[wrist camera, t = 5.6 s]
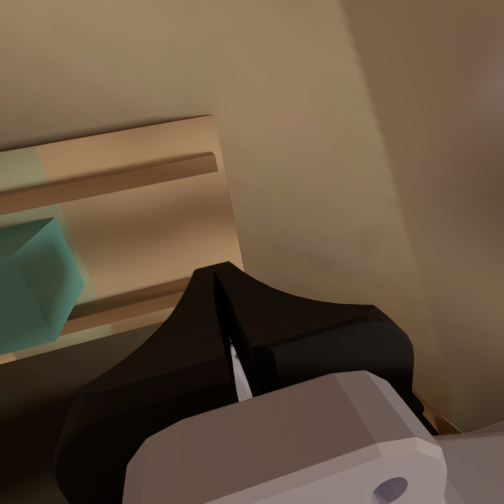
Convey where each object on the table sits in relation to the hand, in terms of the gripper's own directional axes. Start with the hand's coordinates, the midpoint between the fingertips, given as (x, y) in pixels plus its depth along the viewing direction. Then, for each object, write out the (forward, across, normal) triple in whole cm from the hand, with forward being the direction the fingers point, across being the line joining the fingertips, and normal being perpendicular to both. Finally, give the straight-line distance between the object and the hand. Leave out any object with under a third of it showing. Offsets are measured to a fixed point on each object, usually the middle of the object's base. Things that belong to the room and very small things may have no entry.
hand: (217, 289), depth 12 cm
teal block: (+7, +10, 0) cm, 12 cm away
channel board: (+10, +8, 0) cm, 12 cm away
